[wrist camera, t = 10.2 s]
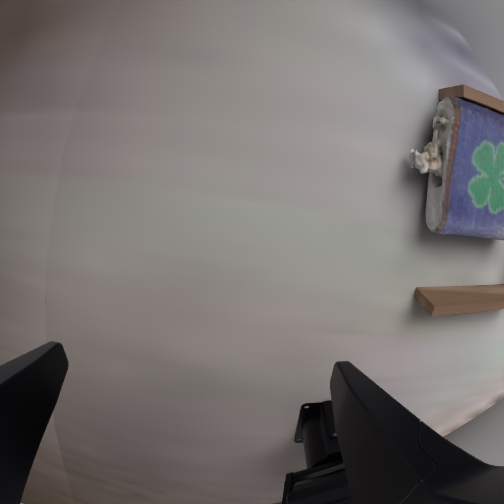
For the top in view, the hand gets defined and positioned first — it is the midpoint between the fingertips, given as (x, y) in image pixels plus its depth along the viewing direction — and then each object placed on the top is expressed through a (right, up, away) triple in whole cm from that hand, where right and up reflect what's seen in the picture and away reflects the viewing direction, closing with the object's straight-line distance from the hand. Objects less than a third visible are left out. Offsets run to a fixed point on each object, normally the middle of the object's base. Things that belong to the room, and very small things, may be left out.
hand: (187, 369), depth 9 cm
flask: (+22, +10, +10) cm, 26 cm away
